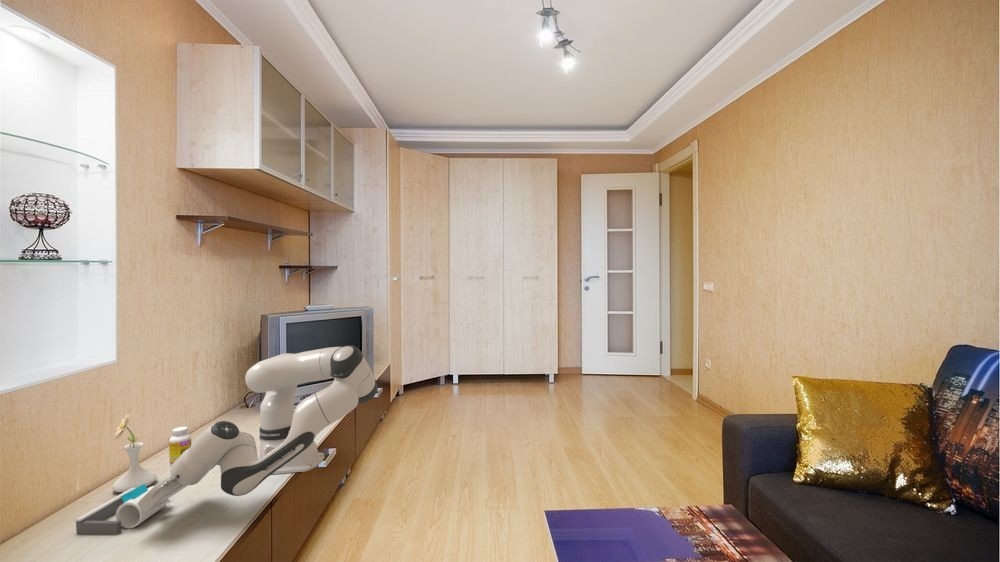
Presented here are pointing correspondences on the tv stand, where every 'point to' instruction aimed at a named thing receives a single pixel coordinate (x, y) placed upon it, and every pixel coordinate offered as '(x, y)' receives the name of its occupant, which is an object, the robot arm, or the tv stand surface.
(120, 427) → the flower in vase
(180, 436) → the supplement bottle
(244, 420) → the tv stand surface
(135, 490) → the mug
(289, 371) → the robot arm
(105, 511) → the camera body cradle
